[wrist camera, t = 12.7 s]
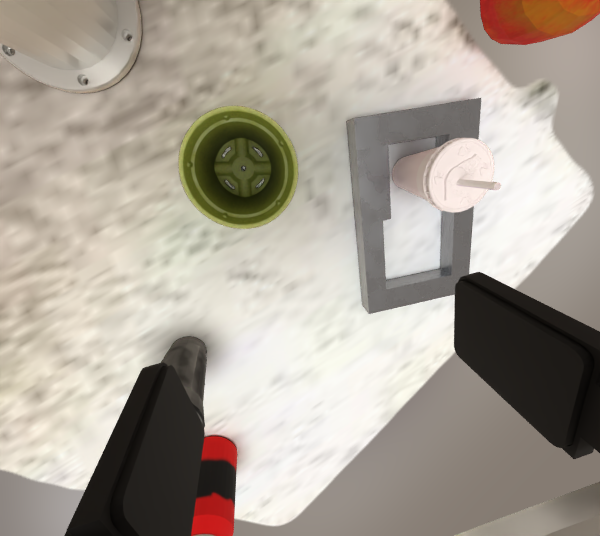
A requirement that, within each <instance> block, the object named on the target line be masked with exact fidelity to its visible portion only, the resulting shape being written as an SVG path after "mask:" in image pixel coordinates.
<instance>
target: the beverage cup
mask: <svg viewBox="0 0 600 536" xmlns="http://www.w3.org/2000/svg"><path fill="white" fill-rule="evenodd" d="M206 353H207V350H206V346H205V344H204V343H203V342H202V341H201V340H199V339H197V338H195V337H183V338H180V339H178V340H176V341H175V342H174V343H173V345H172V346H171V348H170V349H169V351H168V352H167V354H166V355H165V357H164V359H163V360H162V362H164V363H166V364H167V366H169V365H172V366H173V367H174V368H175V370H176V372H177V374H178V376H179V378H180V380H181V382H182V384H183V386H184V388H185V390H186V392H187V394H188V396H189V398H190V400H191V402H192V404H193V406H194V408H195V410H196V412H197V414H198V416H199V418H200V420H201V422H202V424H203V427H205V422H204V410H203V396H204V385H205V373H206V361H207V359H206ZM162 362H161V363H162Z"/></svg>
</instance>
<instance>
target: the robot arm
mask: <svg viewBox="0 0 600 536" xmlns="http://www.w3.org/2000/svg"><path fill="white" fill-rule="evenodd" d="M141 34H142V26H141V13H140V9H139V4H138V0H0V54H1V55H2V56H3V57H4V58H5V59H6V60H7V61H8V62H10V63H11V64H12V65H13V66H15V67H16V68H17V69H19V70H20V71H21V72H22V73H24V74H26V75H28V76H29V77H31V78H33V79H35V80H36V81H38V82H41V83H43V84H45V85H48V86H50V87H53V88H56V89H60V90H63V91H66V92H74V93H91V92H97V91H101V90H104V89H107V88H109V87H111V86H112V85H114V84H116V83H117V82H119V81H120V80H121V79H122V78H123V77H124V76H125V75H126V74H127V73H128V72H129V70H130V69H131V67H132V65H133V64H134V62H135V60H136V57H137V54H138V51H139V48H140V42H141ZM130 36H132V40H131V41H128V37H130ZM14 51H15V54H14ZM86 80H88V81H89V83H88V85H87V84H86ZM454 348H455V351H456V353H457V355H458V356H459V357H460V358H461V359H462V360H463V361H464V362H465V363H466V364H467V365H468V366H469V367H470V368H471V369H472V370H474V371H475V372H476V373H477V374H478V375H479V376H480V377H481V378H482V379H483V380H484V381H485V382H486V383H487V384H488V385H489V386H491V387H492V388H493V389H494V390H495V391H496V392H497V393H498V394H499V395H500V396H501V397H502V398H503V399H504V400H505V401H507V402H508V403H509V404H510V405H511V406H512V407H513V408H514V409H515V410H516V411H517V412H518V413H519V414H520V415H521V416H523V418H525V419H526V420H527V421H528V422H529V423H530V424H531V425H532V426H533V427H534V428H535V429H536V430H537V431H538V432H539V433H541V434H542V435H543V436H544V437H545V438H546V439H547V440H548V441H549V442H550V443H552V444H553V445H554V446H556V447H559V448H562V449H563V450H564V451H565V452H567V453H568V454H569V455H570V456H571V457H572V458H573V459H576V458H579V457H582V456H584V455H587V454H590V453H592V452H593V450H594V449H596V450H597V451H598V452H599V453H600V332H599V331H597V330H595V329H593V328H591V327H589V326H587V325H585V324H583V323H581V322H579V321H577V320H575V319H573V318H571V317H569V316H567V315H565V314H563V313H561V312H559V311H557V310H555V309H553V308H551V307H549V306H547V305H545V304H543V303H541V302H539V301H537V300H535V299H533V298H531V297H529V296H527V295H525V294H523V293H521V292H519V291H517V290H515V289H513V288H511V287H509V286H507V285H505V284H503V283H501V282H499V281H497V280H495V279H493V278H491V277H489V276H487V275H485V274H483V273H480V272H476V273H473V274H469V275H466V276H462V277H460V279H459V281H458V283H456V285H455V321H454ZM203 444H204V427H203V424H202V422H201V420H200V418H199V416H198V414H197V412H196V410H195V408H194V406H193V404H192V402H191V400H190V398H189V396H188V394H187V392H186V390H185V388H184V386H183V384H182V382H181V380H180V378H179V376H178V374H177V372H176V370H175V368H174V367H173V366H172V365H169V366H167V364H166V363H164V362H162V363H159V364H155V365H152V366H148V367H145V368H143V369H142V370H141V372H140V374H139V376H138V379H137V381H136V383H135V385H134V387H133V389H132V391H131V394H130V396H129V398H128V400H127V402H126V404H125V406H124V409H123V411H122V413H121V415H120V417H119V419H118V421H117V424H116V426H115V428H114V430H113V432H112V434H111V436H110V439H109V441H108V443H107V445H106V447H105V449H104V451H103V454H102V456H101V458H100V460H99V462H98V464H97V466H96V469H95V471H94V473H93V475H92V477H91V479H90V481H89V484H88V486H87V488H86V490H85V492H84V494H83V496H82V499H81V501H80V503H79V505H78V507H77V509H76V511H75V514H74V516H73V518H72V520H71V522H70V524H69V526H68V529H67V532H66V534H65V536H191V533H192V525H193V518H194V511H195V503H196V496H197V488H198V481H199V473H200V466H201V459H202V451H203ZM455 536H600V482H598V483H595V484H592V485H590V486H587V487H584V488H581V489H579V490H576V491H573V492H571V493H568V494H565V495H562V496H560V497H557V498H554V499H551V500H549V501H546V502H544V503H541V504H538V505H535V506H532V507H530V508H527V509H525V510H522V511H519V512H516V513H514V514H511V515H508V516H505V517H503V518H500V519H498V520H495V521H492V522H489V523H487V524H484V525H481V526H479V527H476V528H473V529H471V530H468V531H465V532H463V533H460V534H457V535H455Z"/></svg>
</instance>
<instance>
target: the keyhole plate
mask: <svg viewBox="0 0 600 536" xmlns="http://www.w3.org/2000/svg"><path fill="white" fill-rule="evenodd" d="M480 108H481V98H477V99H471V100H465V101H459V102H452V103H446V104H440V105H434V106H427V107H421V108H415V109H409V110H402V111H396V112H390V113H384V114H378V115H371V116H365V117H359V118H353V119H351V120H349V121H347V132H348V143H349V155H350V167H351V179H352V190H353V202H354V214H355V225H356V237H357V249H358V261H359V272H360V284H361V296H362V306H363V307H364V308H365V309H366V311H367V312H368V313H369V314H371V313H375V312H380V311H384V310H388V309H393V308H397V307H401V306H406V305H410V304H415V303H419V302H423V301H428V300H432V299H436V298H441V297H445V296H450V295H454V294H455V285H456V283H458V281H459V279H460V277H462V276H466V275H469V265H470V251H471V237H472V222H473V208H474V206H473V207H471V208H469V209H467V210H465V211H462V212H446V211H442V222H441V256H440V269H436V270H431V271H427V272H422V273H418V274H413V275H409V276H404V277H399V278H395V279H390V280H386V276H385V256H384V235H383V220H387V219H391V207H390V181H389V154H388V145H389V144H395V143H401V142H407V141H413V140H418V139H424V138H430V137H436V148H437V147H440V146H442V145H443V144H444V143H446V142H448V141H450V140H453V139H455V138H474V139H478V137H479V123H480Z"/></svg>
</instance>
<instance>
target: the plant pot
mask: <svg viewBox="0 0 600 536" xmlns="http://www.w3.org/2000/svg"><path fill="white" fill-rule="evenodd" d="M228 147H231V150H230V151H229V152H228V153H227V154H226V155H225V157H224V158H222V154H223V153H224V152H225V149H226V148H228ZM252 147H255V148H257V149H259V150H260V151H261V153H262V155H263V156H262V157H260V155H259V154H258V153H257V152H256V151H255V150H254V149H253V148H252ZM242 166H245V167H246V170H245V171H242V170H241V167H242ZM179 174H180V179H181V182H182V185H183V188H184V190H185V192H186V194H187V196H188V198H189V199H190V201H191V202H192V203H193V205H194V206H195V207H196V208H197V209H198V210H199V211H200V212H201V213H202V214H204V215H205V216H206V217H208V218H209V219H211V220H213V221H214V222H216V223H218V224H221V225H224V226H227V227H231V228H238V229H250V228H256V227H260V226H263V225H265V224H267V223H269V222H271V221H272V220H274V219H275V218H277V217H278V216H279V215H280V214H281V213H282V212H283V211H284V210H285V209H286V207H287V206H288V205H289V203H290V201H291V199H292V197H293V195H294V192H295V189H296V185H297V180H298V163H297V157H296V153H295V150H294V148H293V145H292V143H291V141H290V139H289V138H288V136H287V135H286V133H285V132H284V130H283V129H282V128H281V127H280V126H279V125H278V124H277V123H276V122H275V121H274V120H273V119H271V118H270V117H268V116H267V115H265V114H263V113H261V112H259V111H257V110H254V109H252V108H248V107H243V106H225V107H220V108H217V109H214V110H211V111H209V112H207V113H206V114H204V115H202V116H201V117H200V118H199V119H197V120H196V121H195V122H194V123H193V125H192V126H191V127H190V129H189V130H188V131H187V133H186V135H185V137H184V139H183V142H182V144H181V148H180V152H179ZM263 178H264V182H263V184H262V185H261V186H260V187H259V188H256V186H257V185H258V184H259V183H260V181H261V180H262V179H263ZM225 179H226V180H227V181H228V182H229V183H230V184H231V185H232V186H234V187H235V189H231V188H230V187H229V186H228V185H227V184H226V183H225Z"/></svg>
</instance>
